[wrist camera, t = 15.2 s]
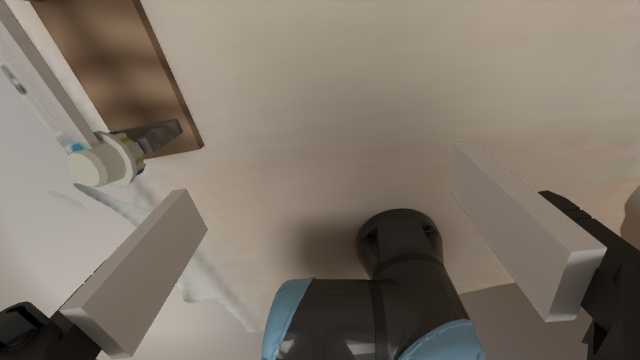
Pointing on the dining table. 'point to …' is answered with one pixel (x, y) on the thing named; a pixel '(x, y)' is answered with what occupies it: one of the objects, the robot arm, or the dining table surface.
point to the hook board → (122, 71)
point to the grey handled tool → (64, 113)
